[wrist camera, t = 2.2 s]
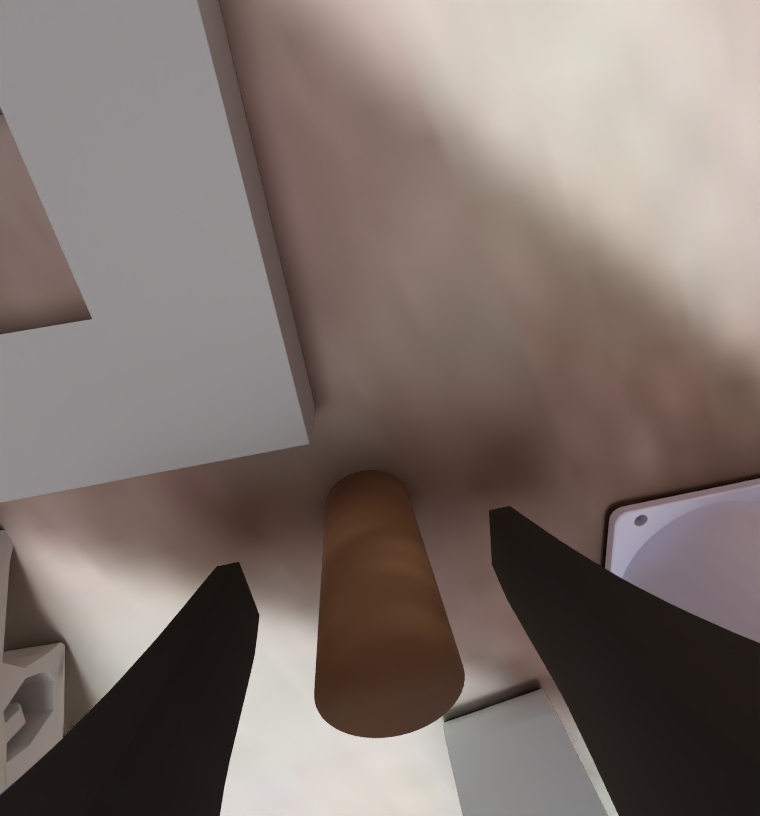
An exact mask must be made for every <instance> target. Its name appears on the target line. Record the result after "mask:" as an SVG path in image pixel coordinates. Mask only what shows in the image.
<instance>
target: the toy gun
mask: <svg viewBox="0 0 760 816" xmlns="http://www.w3.org/2000/svg"><path fill="white" fill-rule="evenodd" d="M13 546H14V545H13V543H12V542H11V540H10V538H9V536H8V534H7V533H6V531H5V530H0V795H2V794H3V793H4V792H5V791H6V790H7V789H8V788H9V787H10V786H11V785H12V784H14V783H15V782H16V781H17V780H18V779H19V778H20V777H21V776H22V775H23V774H24V773H26V772H27V771H28V770H29V769H30V768H31V767H32V766H33V765H34V764H35V763H36V762H38V761H39V760H40V759H41V758H42V757H43V756H44V755H45V754H46V753H47V752H48V751H50V750H51V749H52V748H53V747H54V746H55V745H56V744H57V743H58V742H59V741H60V740H61V739H62V738H63V727H64V684H65V645H64V644H62V643H54V644H48V645H42V646H35V647H29V648H23V649H16V650H10V651H4V652H3V650H4V636H5V622H6V608H7V594H8V580H9V566H10V559H11V555H12V550H13Z"/></svg>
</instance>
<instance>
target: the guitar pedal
mask: <svg viewBox="0 0 760 816" xmlns="http://www.w3.org/2000/svg"><path fill="white" fill-rule="evenodd" d="M444 733H445V739H446V744H447V748H448V753H449V757H450V761H451V766H452V770H453V774H454V779H455V783H456V787H457V792H458V796H459V800H460V805H461V809H462V813H463V816H608V815H607V813H606V811H605V809H604V807H603V805H602V803H601V801H600V799H599V797H598V795H597V793H596V791H595V789H594V787H593V785H592V783H591V781H590V779H589V777H588V775H587V773H586V771H585V769H584V767H583V765H582V763H581V761H580V759H579V757H578V755H577V753H576V751H575V749H574V747H573V745H572V743H571V741H570V739H569V737H568V735H567V733H566V731H565V729H564V727H563V725H562V723H561V721H560V719H559V717H558V715H557V713H556V711H555V709H554V707H553V705H552V703H551V702H550V700H549V698H548V696H547V695H546V693H545V691H544V690H543V689H539V690H536V691H533V692H530V693H527V694H524V695H522V696H519V697H516V698H513V699H510V700H507V701H504V702H501V703H499V704H496V705H493V706H490V707H487V708H484V709H481V710H479V711H476V712H473V713H470V714H467V715H464V716H461V717H459V718H456V719H453V720H450V721H447V722H444Z"/></svg>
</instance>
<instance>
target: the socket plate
mask: <svg viewBox="0 0 760 816" xmlns="http://www.w3.org/2000/svg"><path fill="white" fill-rule="evenodd" d="M2 113H3V115H4V117H5V119H6V121H7V124H8V126H9V128H10V131H11V133H12V135H13V138H14V140H15V142H16V144H17V147H18V149H19V151H20V154H21V156H22V158H23V161H24V163H25V165H26V168H27V170H28V172H29V174H30V177H31V179H32V181H33V184H34V186H35V188H36V191H37V193H38V195H39V197H40V200H41V202H42V204H43V207H44V209H45V211H46V214H47V216H48V218H49V220H50V223H51V225H52V227H53V230H54V232H55V234H56V237H57V239H58V241H59V243H60V246H61V248H62V250H63V253H64V255H65V257H66V260H67V262H68V264H69V266H70V269H71V271H72V273H73V276H74V278H75V280H76V283H77V285H78V287H79V289H80V292H81V294H82V296H83V299H84V301H85V303H86V306H87V308H88V310H89V313H90V315H91V317H92V319H90V320H84V321H78V322H72V323H66V324H60V325H54V326H48V327H42V328H36V329H30V330H24V331H18V332H12V333H6V334H0V503H1V502H6V501H11V500H16V499H22V498H27V497H32V496H38V495H43V494H48V493H53V492H59V491H64V490H69V489H75V488H80V487H85V486H90V485H96V484H101V483H106V482H112V481H117V480H122V479H127V478H133V477H138V476H143V475H149V474H154V473H159V472H164V471H170V470H175V469H180V468H186V467H191V466H196V465H201V464H207V463H212V462H217V461H223V460H228V459H233V458H238V457H244V456H249V455H254V454H260V453H265V452H270V451H275V450H281V449H286V448H291V447H297V446H302V445H307V444H310V438H311V433H312V427H313V422H314V416H315V411H316V409H315V405H314V401H313V396H312V392H311V388H310V384H309V379H308V375H307V371H306V367H305V363H304V358H303V354H302V350H301V346H300V342H299V337H298V333H297V329H296V325H295V320H294V316H293V312H292V308H291V304H290V299H289V295H288V291H287V287H286V283H285V278H284V274H283V270H282V266H281V261H280V257H279V253H278V249H277V245H276V240H275V236H274V232H273V228H272V224H271V219H270V215H269V211H268V207H267V202H266V198H265V194H264V190H263V186H262V181H261V177H260V173H259V169H258V165H257V160H256V156H255V152H254V148H253V143H252V139H251V135H250V131H249V127H248V122H247V118H246V114H245V110H244V106H243V101H242V97H241V93H240V89H239V84H238V80H237V76H236V72H235V68H234V63H233V59H232V55H231V51H230V47H229V42H228V38H227V34H226V30H225V25H224V21H223V17H222V13H221V9H220V4H219V0H0V114H2Z"/></svg>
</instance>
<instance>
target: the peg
mask: <svg viewBox="0 0 760 816" xmlns="http://www.w3.org/2000/svg"><path fill="white" fill-rule="evenodd" d="M464 680H465V673H464V668H463V665H462V661H461V658H460V655H459V652H458V649H457V646H456V643H455V640H454V636H453V633H452V630H451V627H450V624H449V621H448V618H447V615H446V611H445V608H444V605H443V602H442V599H441V596H440V593H439V590H438V586H437V583H436V580H435V577H434V574H433V571H432V568H431V565H430V561H429V558H428V555H427V552H426V549H425V546H424V543H423V540H422V536H421V533H420V530H419V527H418V524H417V521H416V518H415V515H414V511H413V508H412V505H411V502H410V499H409V496H408V493H407V491H406V489H405V487H404V486H403V485H402V484H401V482H399V481H398V480H397V479H396V478H394V477H393V476H391V475H389V474H386V473H383V472H379V471H361V472H357V473H354V474H351V475H349V476H347V477H345V478H344V479H342V480H341V481H339V482H338V483H337V484H336V485H335V486H334V487H333V489H332V490H331V492H330V493H329V496H328V498H327V501H326V508H325V525H324V541H323V558H322V574H321V591H320V607H319V624H318V640H317V657H316V673H315V690H314V699H315V704H316V707H317V710H318V712H319V713H320V715H321V716H322V718H323V719H324V720H325V721H326V722H327V723H329V724H330V725H331V726H333V727H334V728H336V729H338V730H340V731H342V732H345V733H347V734H351V735H354V736H360V737H367V738H385V737H393V736H399V735H403V734H407V733H410V732H413V731H416V730H419V729H421V728H423V727H425V726H427V725H429V724H431V723H433V722H434V721H436V720H437V719H439V718H440V717H442V716H443V715H444V714H445V713H446V712H447V711H448V710H449V709H450V708H451V707H452V706H453V705H454V704H455V702H456V701H457V700H458V698H459V696H460V694H461V692H462V689H463V686H464Z"/></svg>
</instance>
